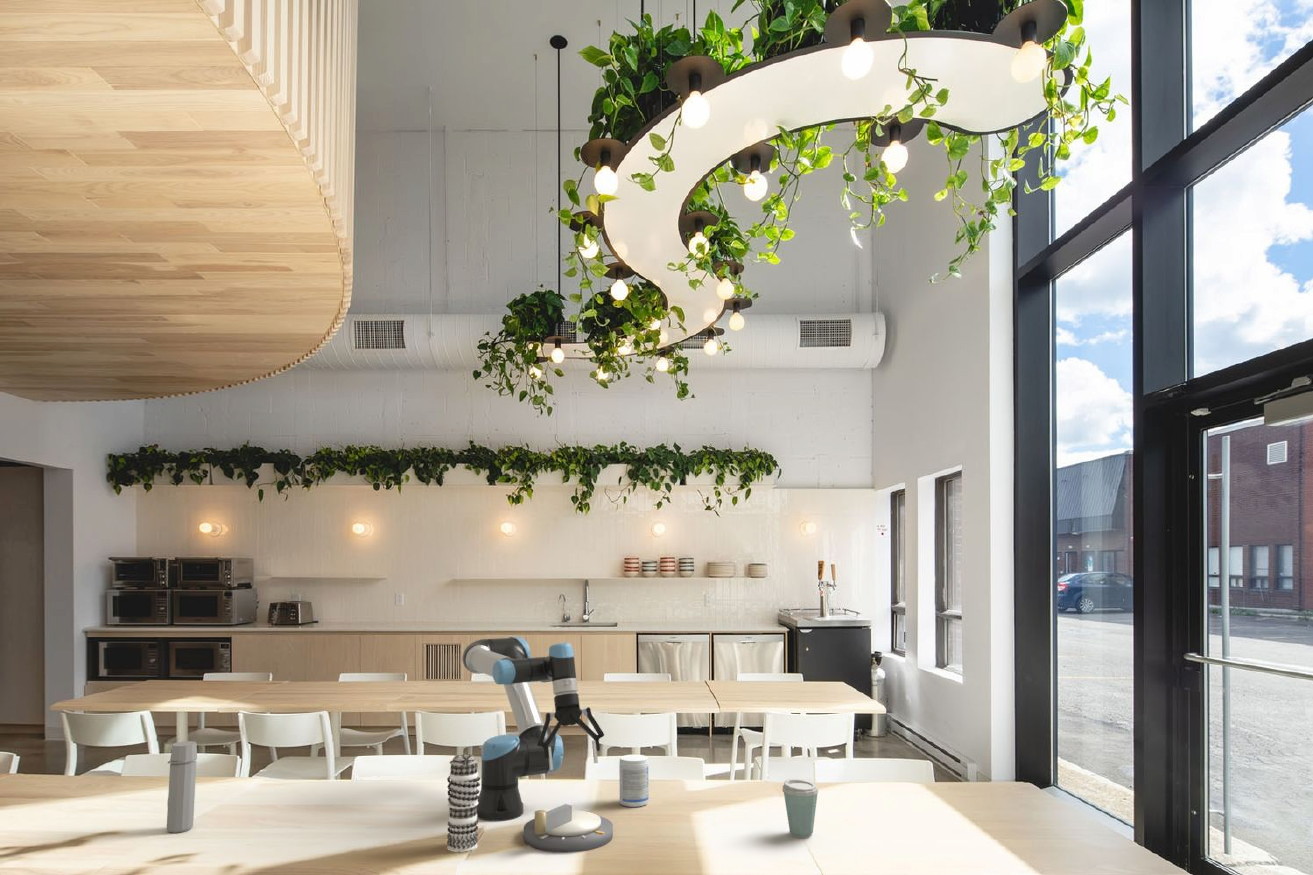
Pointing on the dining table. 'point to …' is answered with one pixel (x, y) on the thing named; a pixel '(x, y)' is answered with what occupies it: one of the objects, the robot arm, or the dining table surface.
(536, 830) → the dial
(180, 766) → the water bottle
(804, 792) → the disposable coffee cup
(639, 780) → the supplement tub
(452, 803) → the decorative candle
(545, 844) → the dial base
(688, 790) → the dining table surface
